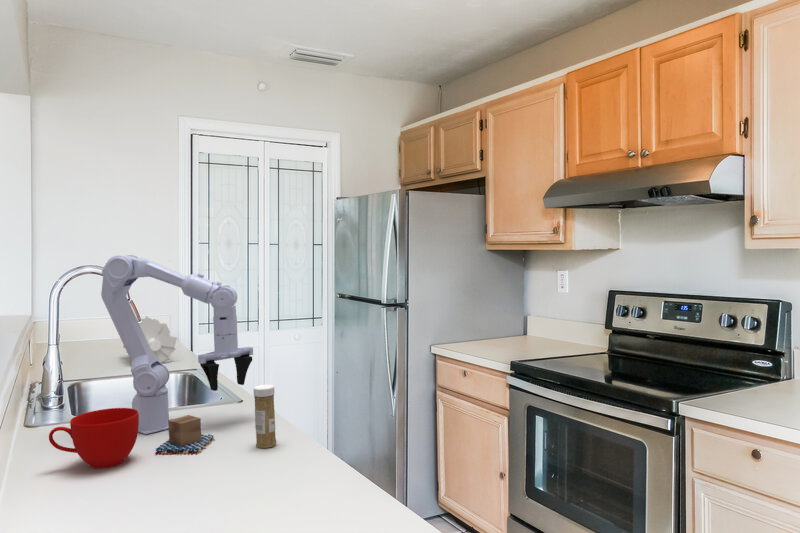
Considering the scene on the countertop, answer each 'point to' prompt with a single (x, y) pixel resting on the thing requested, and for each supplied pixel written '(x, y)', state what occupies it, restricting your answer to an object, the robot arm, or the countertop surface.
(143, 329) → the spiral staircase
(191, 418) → the walnut block
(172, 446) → the woven mat
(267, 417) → the sprinkles bottle
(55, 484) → the countertop surface
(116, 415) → the ceramic cup
